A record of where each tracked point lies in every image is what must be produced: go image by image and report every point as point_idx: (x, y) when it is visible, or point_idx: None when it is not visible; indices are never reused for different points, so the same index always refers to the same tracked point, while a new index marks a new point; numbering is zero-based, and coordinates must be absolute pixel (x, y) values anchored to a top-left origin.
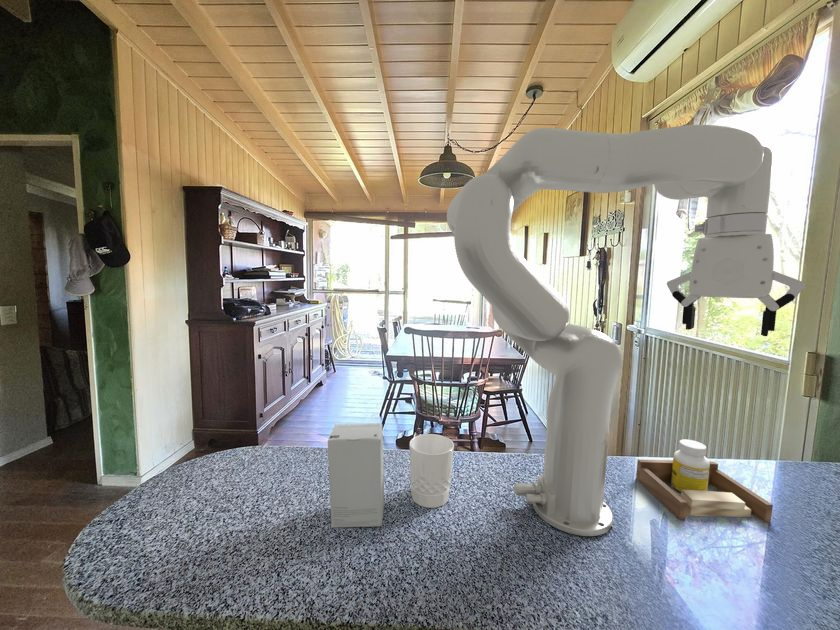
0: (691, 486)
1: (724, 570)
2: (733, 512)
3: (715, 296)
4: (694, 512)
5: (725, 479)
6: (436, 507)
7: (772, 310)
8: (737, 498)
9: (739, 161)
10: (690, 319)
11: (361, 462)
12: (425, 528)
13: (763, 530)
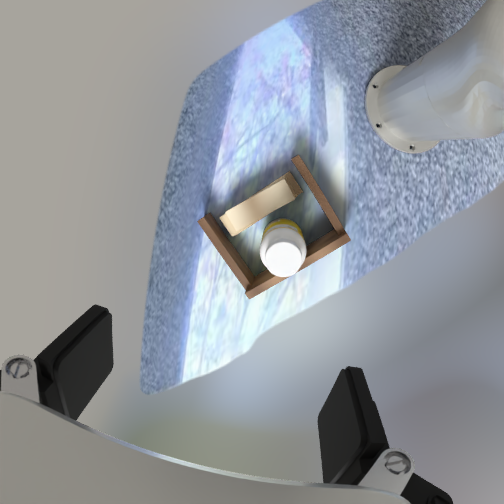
0: (282, 221)
1: (259, 92)
2: None
3: (256, 477)
4: (280, 178)
5: (239, 266)
6: None
7: (29, 358)
8: (232, 218)
9: None
10: (354, 396)
11: None
12: None
13: (212, 198)
